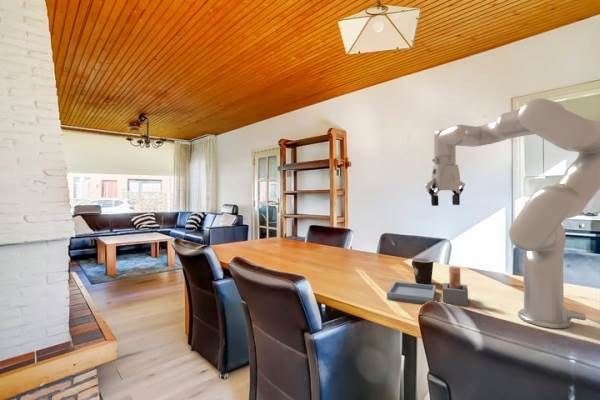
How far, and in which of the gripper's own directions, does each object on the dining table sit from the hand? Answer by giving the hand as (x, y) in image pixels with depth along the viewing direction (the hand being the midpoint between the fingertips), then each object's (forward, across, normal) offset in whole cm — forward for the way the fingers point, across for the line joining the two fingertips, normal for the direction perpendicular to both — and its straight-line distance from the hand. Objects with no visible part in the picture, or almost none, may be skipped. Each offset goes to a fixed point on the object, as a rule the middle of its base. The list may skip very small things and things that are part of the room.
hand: (445, 205), depth 120 cm
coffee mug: (+35, +1, +16) cm, 39 cm away
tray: (+35, -14, +2) cm, 38 cm away
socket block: (+35, -3, -8) cm, 36 cm away
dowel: (+35, -3, -8) cm, 36 cm away
